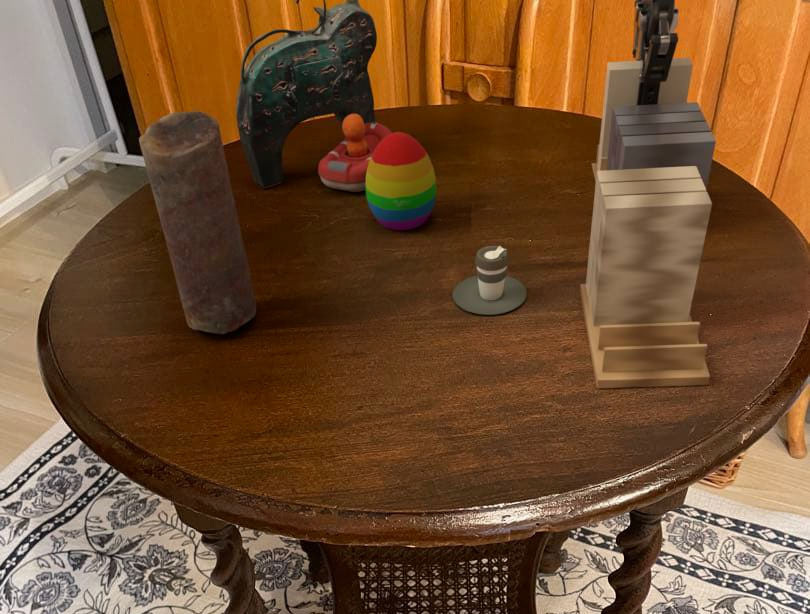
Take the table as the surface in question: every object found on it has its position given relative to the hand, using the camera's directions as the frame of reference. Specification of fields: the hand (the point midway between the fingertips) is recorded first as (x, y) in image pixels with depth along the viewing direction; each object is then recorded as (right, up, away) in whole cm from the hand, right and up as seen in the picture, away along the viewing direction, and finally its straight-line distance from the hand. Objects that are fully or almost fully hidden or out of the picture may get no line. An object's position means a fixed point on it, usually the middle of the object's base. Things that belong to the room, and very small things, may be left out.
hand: (643, 109), depth 99 cm
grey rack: (0, -10, +2) cm, 10 cm away
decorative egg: (-28, -12, +3) cm, 30 cm away
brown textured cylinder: (-46, -27, -9) cm, 54 cm away
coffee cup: (-18, -24, -9) cm, 32 cm away
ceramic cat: (-39, 0, +15) cm, 41 cm away
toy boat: (-33, -3, +12) cm, 35 cm away
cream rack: (-5, -30, -15) cm, 34 cm away
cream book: (0, -5, +5) cm, 7 cm away
